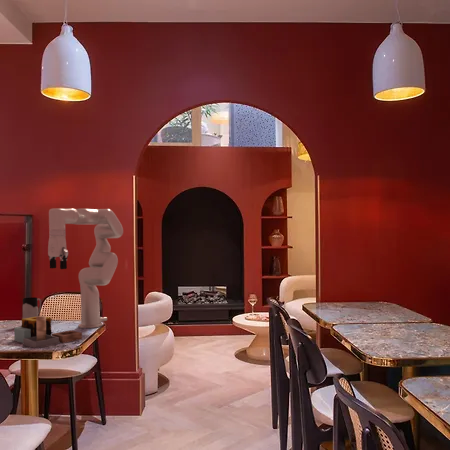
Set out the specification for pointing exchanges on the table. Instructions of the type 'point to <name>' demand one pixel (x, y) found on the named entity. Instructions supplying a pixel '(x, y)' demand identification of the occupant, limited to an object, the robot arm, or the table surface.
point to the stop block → (21, 334)
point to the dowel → (41, 328)
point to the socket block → (68, 336)
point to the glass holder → (30, 307)
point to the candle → (32, 324)
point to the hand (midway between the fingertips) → (58, 268)
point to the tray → (37, 344)
